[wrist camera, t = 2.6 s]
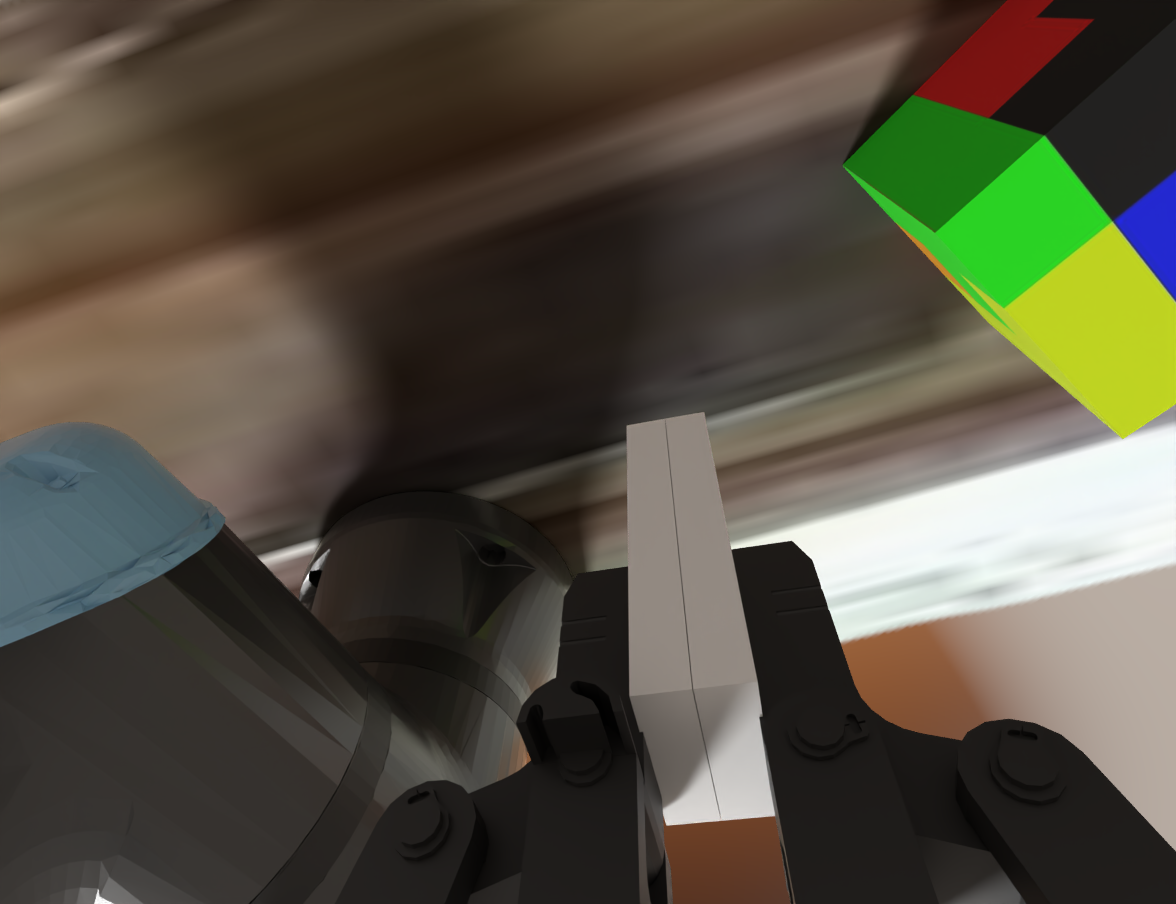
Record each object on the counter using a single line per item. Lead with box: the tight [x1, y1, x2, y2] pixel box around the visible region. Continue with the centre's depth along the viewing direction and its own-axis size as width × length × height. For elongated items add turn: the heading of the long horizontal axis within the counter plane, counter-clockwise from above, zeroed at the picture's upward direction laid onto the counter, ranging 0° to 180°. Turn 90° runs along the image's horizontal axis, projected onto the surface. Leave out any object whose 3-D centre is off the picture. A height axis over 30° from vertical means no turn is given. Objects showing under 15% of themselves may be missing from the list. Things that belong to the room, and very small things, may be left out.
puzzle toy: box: [842, 0, 1176, 439], centre depth 24 cm, size 10×10×10 cm
